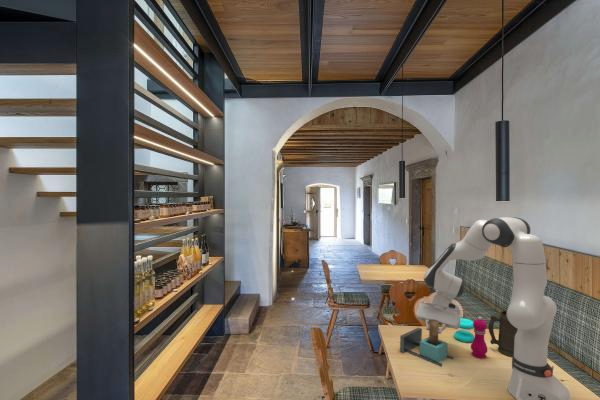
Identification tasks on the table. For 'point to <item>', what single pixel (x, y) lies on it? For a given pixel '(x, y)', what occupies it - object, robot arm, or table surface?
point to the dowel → (433, 332)
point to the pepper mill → (479, 339)
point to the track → (415, 344)
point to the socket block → (433, 350)
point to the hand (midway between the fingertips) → (433, 331)
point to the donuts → (465, 335)
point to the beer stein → (503, 334)
